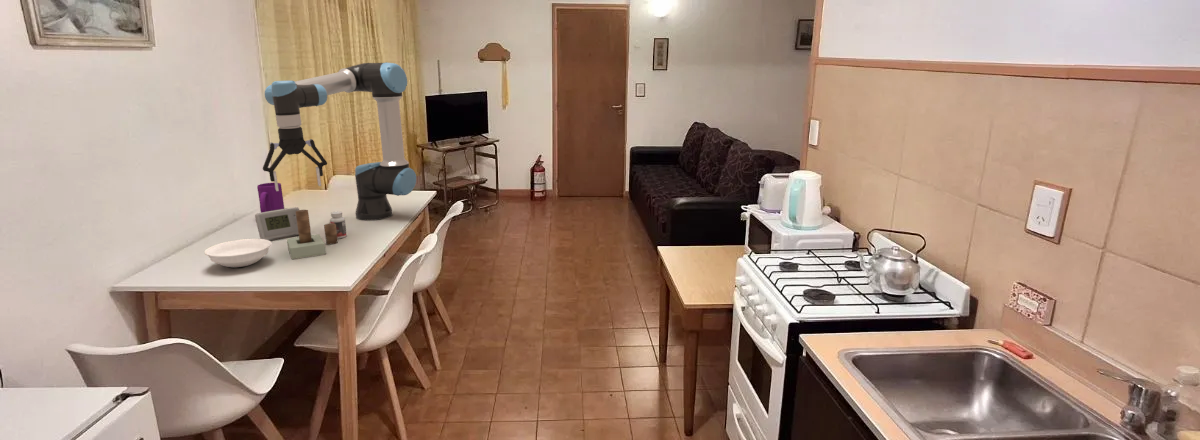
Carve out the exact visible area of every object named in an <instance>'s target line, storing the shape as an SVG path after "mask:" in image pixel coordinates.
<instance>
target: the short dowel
mask: <svg viewBox="0 0 1200 440" xmlns="http://www.w3.org/2000/svg"><path fill="white" fill-rule="evenodd" d="M323 227H324V237H325V242H326V243H325V245H335V244H338V242H339V240H338V239H339V238H337V231H336V224H334V223H330V222H329V223H326V224H324V225H323Z"/></svg>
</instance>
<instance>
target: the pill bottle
mask: <svg viewBox="0 0 1200 440" xmlns="http://www.w3.org/2000/svg"><path fill="white" fill-rule="evenodd" d="M330 216H331V217H330V219H329V224H330V223H334V224H336V231H337V239H344V238H346V237H347V236H348V235H347V226H346V218H345V217H344V216H343V211H339V210H337V211H332V212H330Z"/></svg>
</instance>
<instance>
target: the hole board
mask: <svg viewBox="0 0 1200 440" xmlns="http://www.w3.org/2000/svg"><path fill="white" fill-rule="evenodd" d="M311 238H312V242H309V243H302V244H300V241H299V236H294V237H288V238H286V243H287V249H288V252H289V255H290V258H291V260H298V259H303V258H310V257H315V256H316V257H317V256H323V255H327V251H326V243H325V241H324V239H323V238H322V236H321V234H320V233H316V234H311Z"/></svg>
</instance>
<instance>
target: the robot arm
mask: <svg viewBox="0 0 1200 440" xmlns="http://www.w3.org/2000/svg"><path fill="white" fill-rule="evenodd" d="M407 86H408V77H407V73H406V72H405V70H404V69H403V68H402V67H401V66H400V65H399V64H397V63H395V62H394V63H393V62H363V63H359V64H356V65H351V66H348V67H344V68H340V69H339V70H338V72H333V73H328V74H324V75H320V76H313V77H310V78H305V79H300V80H296V81H295V80H275V81H273V82H272V83H271V84H269V85H268V86H267V87H266V88H265V90H264V98H265V100H266V102H267V103H268V104H270V105H272V106H273V108H274V113H275V119H276V120H275V121H276V126H277V127H278V129H277V134H278V139H279V141H278V142H272V141H271V142H270V143H269V149H268V150H269V151H268V153H267V156H266V158H265V160H264V164H263V166H262V171H264V172H268V173H269V179H270V182H271V183H275V188H276V191H279V189H278V183H279V182H278V178H277V177H278V176H277V172H276V169H277V167H278V165H279V164H280V163H281V162H282V160H283V158H284V157H285V156H286V155H289V156H292V155H299V154H303V155H304V156H305V157H307V158H308V159H309V160H310V161H311V162H312V163H314V164H315V165H316V166H315V174H316V179H317V186H318V187H322V181H321V180H322V179H321V177H323V176H324V172H323V167H324V166H327V165H328V162H327V160H326V159H325V158H324V156H323V155H322V153H321V152H320V150H319V149H318V148H317V147H316V143H315V140H314V139H312V138H310V139H308V140H305V139H304V132H303V128H302V119H301V112H300V111H301V110H300V109H302V108H310V107H319V106H323V105H325V103H327V101H328V96H331V95H335V94H339V93H342V92H345V93H353V92H360V93H361V92H365V93H371V96H372V99H374V100H375V101H376V105H377V115H378V125H379V133H380V142H381V144H380V145H381V151H382V161H375V162H370V163H363V164H359V165H356V167H355V169H354V171H355V175H354V176H355V184H356V191H357V192H356V193H357V199H358V200H357V203H356V208H355V218H356V219H357V220H361V221H375V220H382V219H383V220H384V219H387V218H389V217H392V216H393V214H394V213H393V208H392V206H391V205H390V201H389V200H388V196H387V195H391V196H392V195H393V196H396V197H397V196H407V195H409V194H411V192H412V191H413V190H414V189H415V187H416V184H417V174H416V171H415V170H414V169H412V168H411V167H410V162H409V161H408V160H407V159H406V158H405V148H404V140H403V129H402V127H403V126H402V119H401V109H400V108H401V107H400V100H401V99H402V97H403V92H405V90H406V89H407ZM306 145H307V146H309V147H311V149H312V150H313V152H314V153H315V154H316V156H317V158H318V159H319V160H320V162H319V160H317V158H315V157H314V156H312V155H311V154H310V153H309V152H308V151H307V150H306V149H304V148H305V146H306ZM278 147H279V148H280V149H281V151H280V153H279V154H278V156H277V157H276V159H275V160H274V161H273V163H272V164H271V166H270V163H271V160H272V158H273V155H274V152H275V150H277V149H278Z"/></svg>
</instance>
